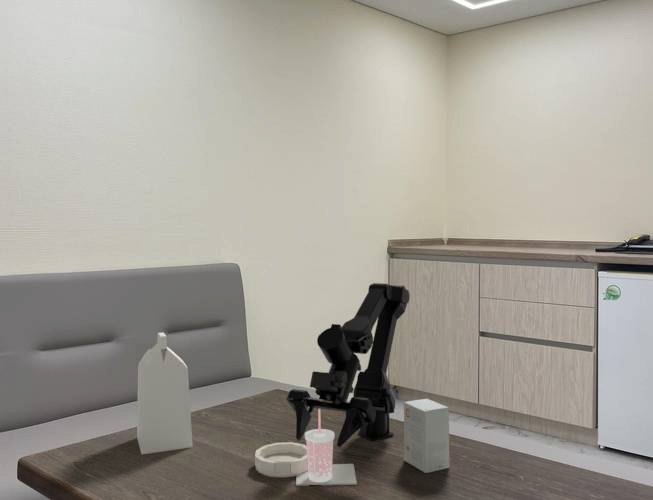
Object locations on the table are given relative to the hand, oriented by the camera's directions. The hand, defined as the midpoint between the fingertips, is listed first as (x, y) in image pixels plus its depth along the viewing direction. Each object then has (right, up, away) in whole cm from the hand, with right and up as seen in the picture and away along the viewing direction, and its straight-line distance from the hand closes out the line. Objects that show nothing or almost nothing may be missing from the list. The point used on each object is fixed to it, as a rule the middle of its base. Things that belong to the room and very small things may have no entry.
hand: (317, 443), depth 122 cm
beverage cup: (+1, -8, +1) cm, 8 cm away
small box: (+23, -7, +8) cm, 26 cm away
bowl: (-7, -7, +8) cm, 13 cm away
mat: (+2, -8, +3) cm, 8 cm away
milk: (-37, -8, +24) cm, 45 cm away
